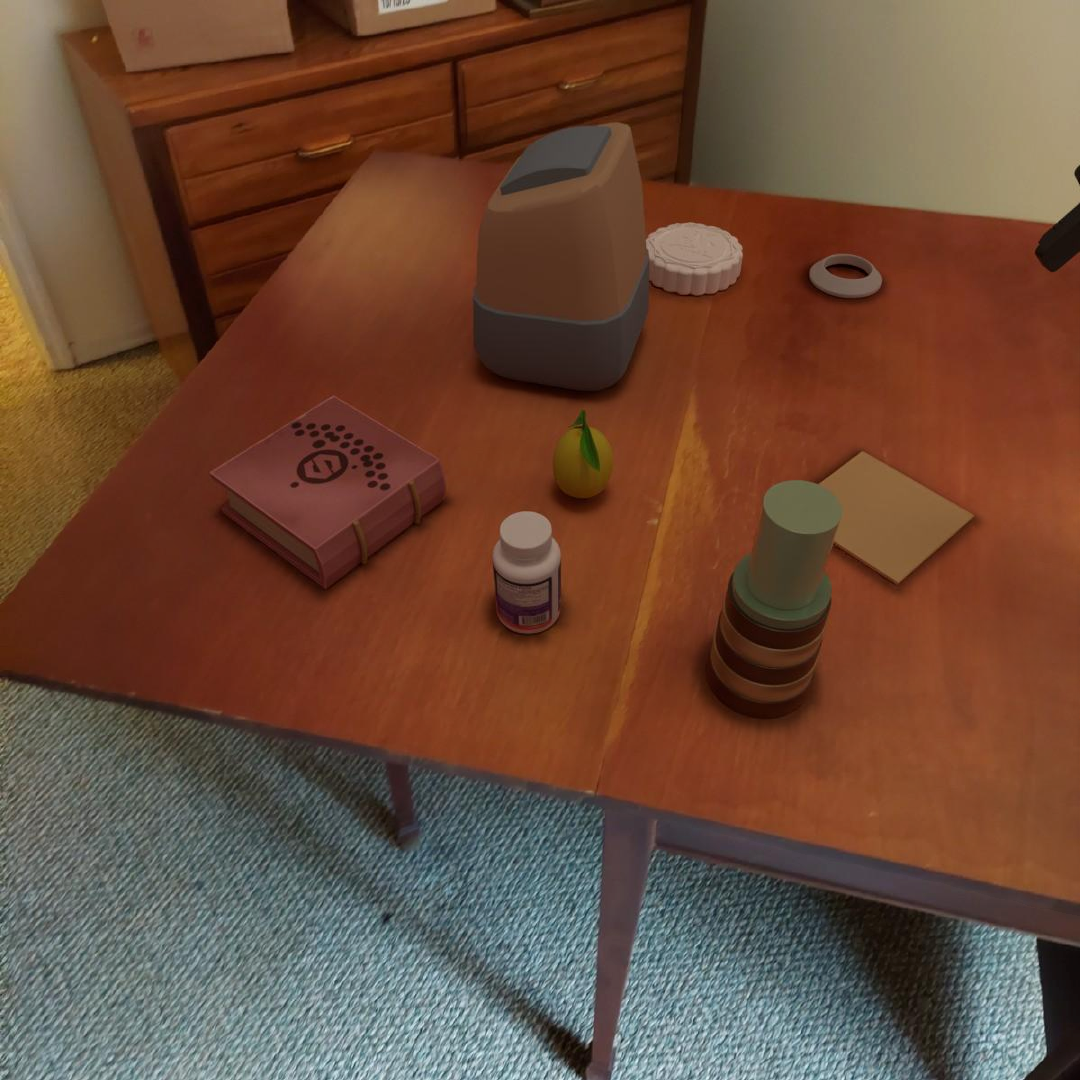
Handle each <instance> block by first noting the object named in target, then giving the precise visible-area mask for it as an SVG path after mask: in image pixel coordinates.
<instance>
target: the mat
mask: <svg viewBox="0 0 1080 1080" xmlns="http://www.w3.org/2000/svg"><path fill="white" fill-rule="evenodd" d="M817 484H818V485H821V486H823V487H824V488H826V489H828V490H829V491H830V492H832V493H833V494H834V495H835V496H836V498H837V499H838V500H839V502H840V504H841V508H842V516H841V520H840V523H839V526H838V530H837V533H836V536H835V539H834V543H833V546H836V547H838V548H839V549H840V550H842V551H844V552H845V553H847V554H848V555H849V556H851V557H852V558H854V559H856V560H857V561H859V562H860V563H862V564H863V565H865V566H866V567H868V568H869V569H871V570H873V571H874V572H876V573H877V574H879V575H880V576H882V577H883V578H885V579H887V580H888V581H889V582H891V583H893V584H894V585H895V586H898V585H899V584H900V583H902V582H903V581H904V580H905V579H906V578H907V577H908V576H909V575H911V574H912V573H913V572H914V571H915V570H916V569H918V567H920V566H921V565H922V564H923V563H924V562H925V561H926V560H927V559H929V558H930V557H931V556H932V555H934V553H936V552H937V550H940V548H941V547H943V546H944V545H945V544H946V543H947V542H948V541H949V540H950V539H951V538H952V537H953V536H955V535H956V534H957V533H958V532H959V531H961V529H963V528H964V527H965V526H966V525H967V524H968V523H969V522H971V521H972V520H973V519H974V517H975V515H974V514H973V513H971V512H970V511H968V510H966V509H964V508H962V507H961V506H959V505H958V504H955V503H953V501H950V500H949V499H947V498H945V497H943V496H942V495H940V494H938V493H936V492H935V491H933V490H931V489H929V488H928V487H926V486H924V485H923V484H921V483H919V482H917V481H916V480H914V479H912V478H911V477H909V476H907V475H905V474H904V473H902V472H900V471H898V470H897V469H895V468H893V467H891V466H890V465H888V464H886V463H885V462H883V461H881V460H879V459H878V458H876V457H874V456H872V455H870V454H869V453H867V452H865V451H864V450H862V451H861V452H859V453H858V454H856V455H855V456H854V457H853V458H851V459H850V460H848V461H847V462H846V463H844V464H843V465H842V466H840V467H839V468H838V469H837V470H834V472H833V473H831V474H830V475H828V476H827V477H826V478H825V479H823V480H822V481H821V482H819V483H817Z"/></svg>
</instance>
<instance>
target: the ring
mask: <svg viewBox="0 0 1080 1080" xmlns="http://www.w3.org/2000/svg"><path fill="white" fill-rule="evenodd" d="M833 265H850V266H854V267H857V268H859V269H861V270H863V271H864V272H866V274H868V275H867V276H865V277H861V278H846V277H840V276H837V275H835V274H832V273H831V272H830V271H828V270H827V269H826V268H828V267H830V266H833ZM808 274H809V275H808V277H809V280H810V282H811V284H812V285H813V286H814V287H815V288H816V289H817V290H819V291H821V292H823V293H825V294H827V295H829V296H833V297H838V298H844V299H862V298H865V297H866V298H867V297H870V296H873V295H874V294H876V293H877V292H878V291H879V290H880V289H881V287H882V283H883V277H882V275H881V273H880V272H879V270H878V269H876V267H875V266H874V265H873V263H871V262H870V261H869V260H867V259H866V258H864V257H861V256H858V255H855V254H851V253H850V254H849V253H836V254H832V255H829V256H827V257H825V258H823V259H821V260H819V261H817V262H815V263H814V264H813V265H812V266H811V267H810V269H809V273H808Z"/></svg>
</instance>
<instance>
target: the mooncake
mask: <svg viewBox="0 0 1080 1080" xmlns="http://www.w3.org/2000/svg"><path fill="white" fill-rule="evenodd" d="M646 247H647V249H648V251H649V282H652V285H653V286H654V287H657V288H662V289H663V290H664V291H665V292H667V293H677V294H678V295H681V296H687V295H692V296H695V297H696V296H698V297H699V296H703V295H704V294H706V295H714V294H715V293H717V292H718V291H720V292H721V291H722V292H723V291H725V290H727V289H728V288H729V286H733V285H734V284H735V283H736V282H737V278H739V277H740V275H741V270H742V263H743V259H744V253H743V245H742V244H741V243H739V240H738V238H737V237H736V236H734V235H731V233H730V232H728V231H727V230H724V229H721V227H716V226H714V225H706V224H703V223H695V222H692V221H691V222H690V221H689V222H683V223H677V222H676V223H673V224H669V225H667V226H666V227H665V226H664V227H663V226H662V227H659V228H657V229H656V230H655V231H653V232H650V233H649V234H648V235H647V238H646Z"/></svg>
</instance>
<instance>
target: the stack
mask: <svg viewBox="0 0 1080 1080" xmlns="http://www.w3.org/2000/svg"><path fill="white" fill-rule="evenodd" d="M733 573H734V571H733V572H732V573H731V575H730V577H729V580H728V583H727V589H726V593H725V595H724V597H723V600H722V601H723V602H722V607H721V610H720V612H719V615H718V620H717V625H716V626H715V630H714V633H713V638H712V641H711V644H710V647H709V650H708V656H707V662H706V667H705V668H706V669H705V671H706V679H707V682H708V684H709V687H710V688H711V690H712V692H713V694H714V695H715V696H716V697H717V698H718V700H719V701H721V703H722V704H724V705H726V706H727V707H728V708H730V709H732V710H733V711H735V712H737V713H739V714H742V715H744V716H748V717H752V718H757V719H773V718H779V717H783V716H786V715H788V714H790V713H792V712H793V711H795V710H797V709H798V708H799V707H800V706H801V705H802V704H803V703H804V701H805V700H806V699H807V697H808V694H809V692H810V689H811V685H812V683H813V679H814V676H815V670H816V666H817V664H818V660H819V654H820V650H821V647H822V644H823V638H824V637H823V636H824V634H825V631H826V628H827V623H828V618H829V617H828V616H829V614H830V610H831V606H832V597H831V598H830V601H829V604H828V607H827V609H826V612H825V613H824V614H823V616H822V617H821V618H820V619H819V620H817V621H816V622H815V623H813V624H811V625H809V626H806V627H803V628H798V629H777V628H772V627H769V626H765V625H763V624H760V623H758V622H757V621H755V620H753V619H751V618H750V617H749V616H747V615H746V614H745V613H744V612H743V611H742V610H741V609H740V608H739V606H738V605H737V604H736V602H735V600H734V597H733V595H732V590H731V584H732V578H733Z"/></svg>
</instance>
